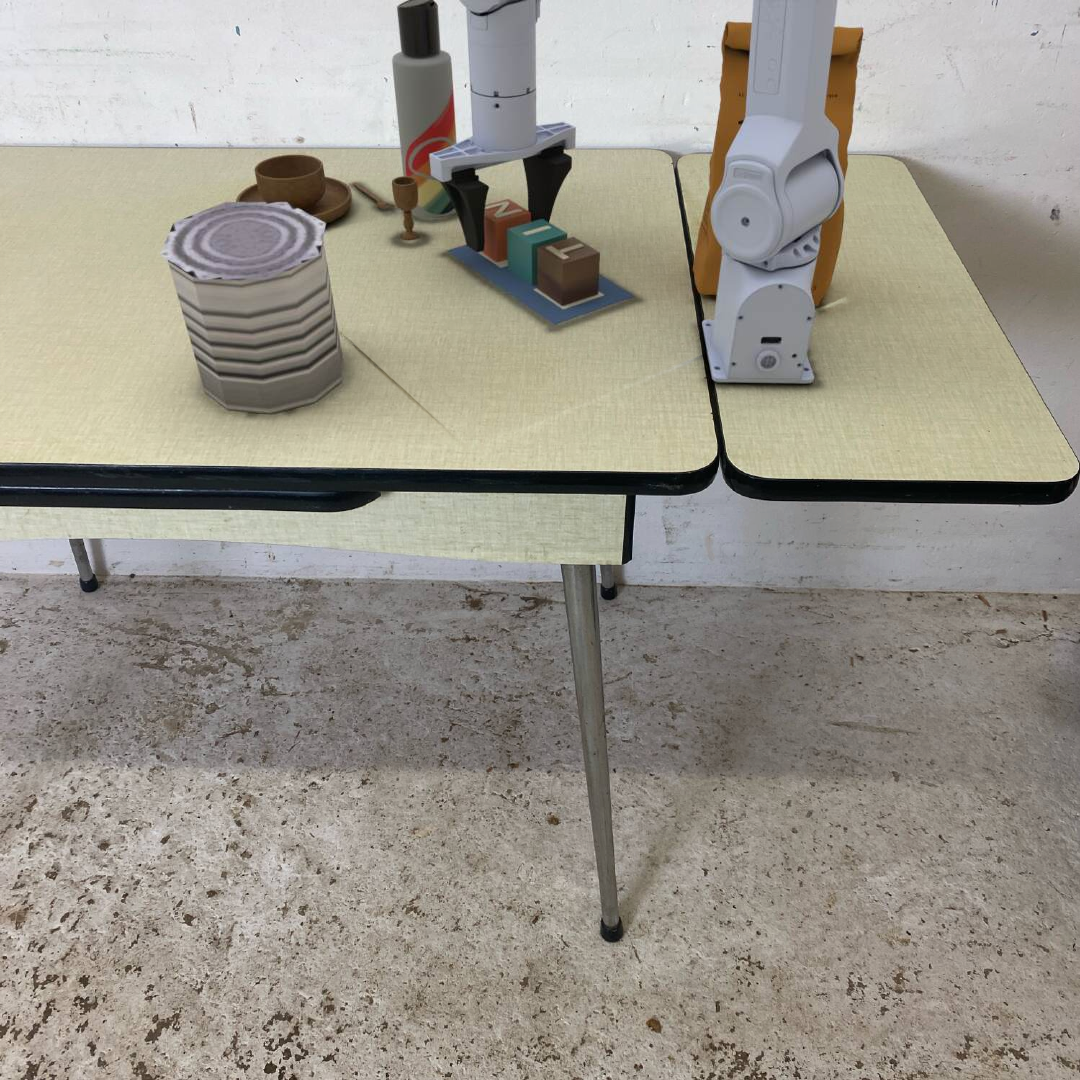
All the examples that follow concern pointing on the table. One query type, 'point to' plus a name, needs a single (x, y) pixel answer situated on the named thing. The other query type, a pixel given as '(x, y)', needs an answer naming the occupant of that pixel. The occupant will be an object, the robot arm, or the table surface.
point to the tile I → (529, 247)
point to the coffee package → (730, 123)
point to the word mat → (531, 294)
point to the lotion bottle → (423, 102)
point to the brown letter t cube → (568, 271)
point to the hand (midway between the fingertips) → (507, 238)
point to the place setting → (321, 190)
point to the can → (257, 304)
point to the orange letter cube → (501, 226)
